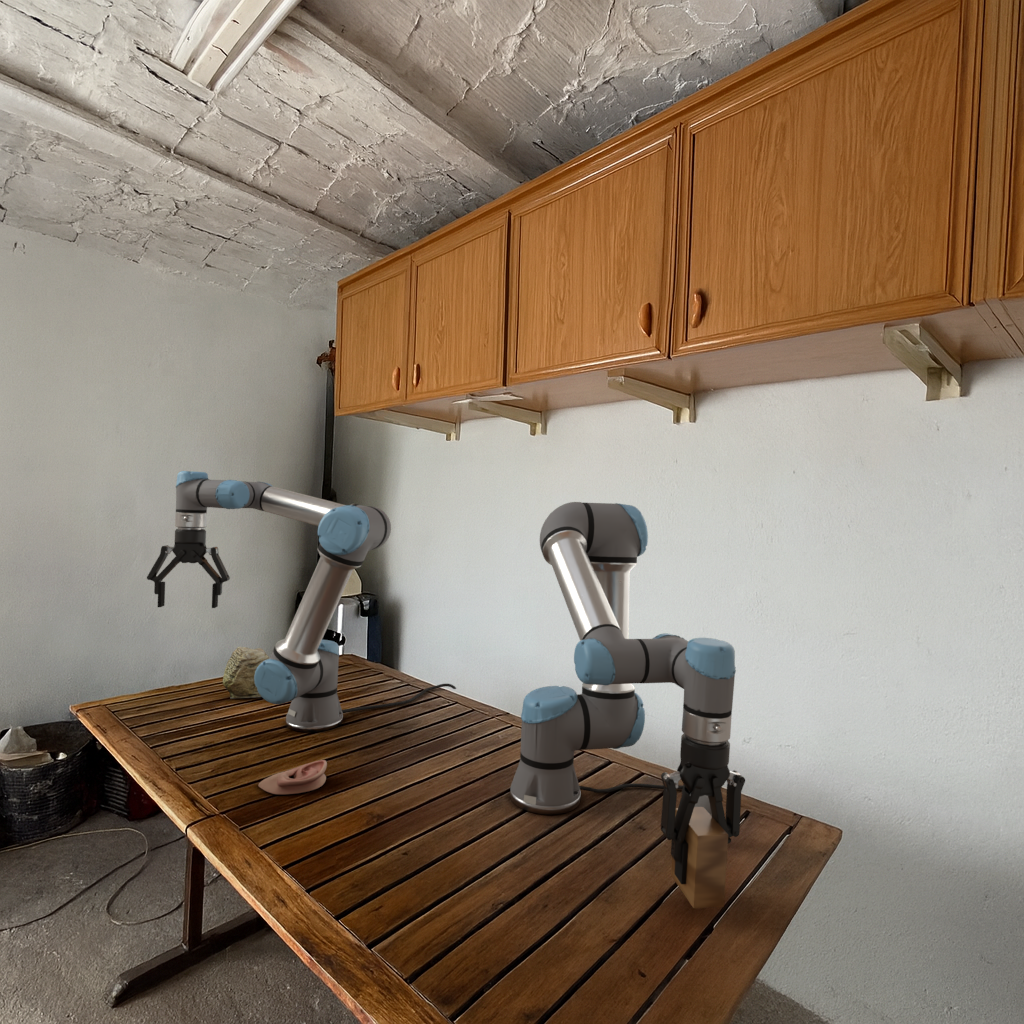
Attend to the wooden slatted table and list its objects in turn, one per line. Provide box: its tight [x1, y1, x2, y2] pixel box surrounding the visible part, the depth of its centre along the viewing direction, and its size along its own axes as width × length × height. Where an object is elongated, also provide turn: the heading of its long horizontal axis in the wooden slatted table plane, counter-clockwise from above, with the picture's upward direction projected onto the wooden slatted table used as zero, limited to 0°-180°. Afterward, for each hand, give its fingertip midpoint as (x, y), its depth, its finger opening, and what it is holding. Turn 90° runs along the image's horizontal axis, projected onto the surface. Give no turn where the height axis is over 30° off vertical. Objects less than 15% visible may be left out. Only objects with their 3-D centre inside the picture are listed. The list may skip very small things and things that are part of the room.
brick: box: [670, 807, 729, 909], centre depth 103 cm, size 5×9×12 cm, turn 9°
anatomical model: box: [257, 759, 328, 795], centre depth 139 cm, size 13×4×12 cm
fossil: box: [222, 646, 270, 699], centre depth 198 cm, size 9×18×15 cm, turn 132°
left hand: (188, 607), depth 171 cm, fingers open, 13 cm apart
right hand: (697, 877), depth 103 cm, fingers closed on brick, 5 cm apart
